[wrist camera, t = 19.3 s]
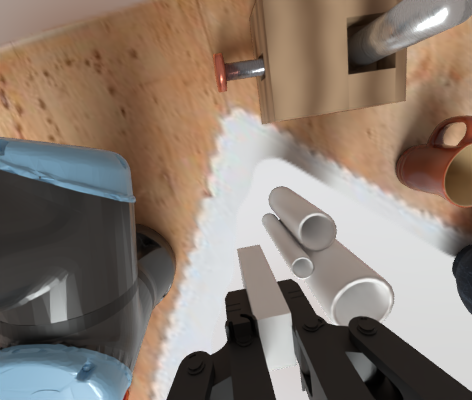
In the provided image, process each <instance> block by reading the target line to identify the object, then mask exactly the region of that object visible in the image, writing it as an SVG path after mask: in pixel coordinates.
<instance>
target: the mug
mask: <svg viewBox="0 0 472 400" xmlns="http://www.w3.org/2000/svg"><path fill="white" fill-rule="evenodd" d="M460 122H464V123H465V124H466V127H467V129H466V134H465V136H464V137H463V139H462V140H461V141H460V142H459V144H458V145H457V146H450V145H445V144H444V143H443V135H444V133H445V131H446V129H447V128H448V127H450V126H451V125H453V124H456V123H460ZM396 173H397V177H398V179H399V181H400V182H401V183H402V184H404V185H405V186H407V187H409V188H411V189H413V190H417V191H422V192H426V193H431V194H435V195H439V196H441V197H443V198H444V199H446V200H447V201H449V202H450V203H452V204H453V205H456V206H458V207H472V116H468V115H465V116H456V117H452V118H449V119H446V120H444V121H443V122H441V123H440V124H439V125H438V126H437V127H436V128H435V130H434V131H433V133H432V134H431V136H430V138H429V140H428V143H427V144H421V145H417V146H413V147H410V148H409V149H407V150H406V151H405V152H404V153H403V154H402V155H401V157H400V158H399V160H398V163H397V167H396Z"/></svg>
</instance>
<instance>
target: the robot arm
mask: <svg viewBox="0 0 472 400" xmlns="http://www.w3.org/2000/svg"><path fill="white" fill-rule="evenodd" d="M134 202H136V198H135V196H134V195H133V189H132V180H131V171H130V167H129V164H128V162H127V161H126V160H125V159H124V158H123V157H122V156H121V155H120V154H118V153H115V152H113V151H108V150H102V149H95V148H88V147H81V146H73V145H65V144H57V143H49V142H41V141H32V140H24V139H15V138H6V137H0V400H123V398H124V395H125V393H126V390H127V389H128V388H129V386H130V385H131V380H132V373H133V369H134V366H135V363H136V360H137V357H138V354H139V351H140V347H141V344H142V341H143V338H144V335H145V332H146V329H147V325H148V322H149V319H150V316H151V313H152V310H153V309H154V308H155V306H156V305H157V304H158V303H159V302H160V301H161V300H162V299H163V298H164V297H165V296H166V295H167V293H168V292H169V290H170V288H171V286H172V283H173V279H174V275H175V270H176V262H175V257H174V253H173V251H172V249H171V247H170V245H169V244H168V243H167V241H166V240H165V239H164V238H163V237H162V236H161V235H160V234H158V233H157V232H156V231H154V230H152V229H150V228H148V227H146V226H143V225H139V224H135V207H134ZM237 251H238V257H239V263H240V269H241V275H242V280H243V286H244V289H242V290H236V291H232V292H228V294H227V296H226V298H225V304H226V314H227V321H226V324H225V329H226V335H227V343H226V344H225V346H224V347H223V348H222V349H220V350H219V351H217V352H216V353H214V354H212V355H209V354H208V353H207V352H203V351H197V352H193V353H191V354H189V355H188V356H186V357H185V358H184V359H183V360H182V362H181V364H180V365H179V368H178V370H177V373H176V376H175V378H174V381H173V384H172V386H171V389H170V392H169V394H168V397H167V399H166V400H276V398H275V394H274V390H273V386H272V382H271V378H270V375H269V371H273V370H278V369H282V368H287V367H291V366H296V365H297V362H296V358H297V361H298V363H299V366H300V374H301V383H302V390H303V391H305V389H306V391H307V394H308V397H309V399H310V400H472V392H471V391H470V390H468V389H467V388H466V387H465V386H463V385H462V384H461V383H459V382H458V381H457V380H455V379H454V378H452V377H451V376H450V375H449V374H447V373H446V372H445V371H443V370H442V369H441V368H439V367H438V366H437V365H435V364H434V363H433V362H432V361H430V360H429V359H428V358H426V357H425V356H424V355H422V354H421V353H420V352H418V351H417V350H416V349H414V348H413V347H412V346H410V345H409V344H408V343H406V342H405V341H404V340H402V339H401V338H400V337H399V336H397V335H396V334H395V333H393V332H392V331H391V330H389V329H388V328H387V327H385V326H384V325H383V324H381V323H380V322H379V321H377V320H375V319H373V318H370V317H367V316H358V317H354V318H352V319H351V320H350V321H349V324H348V326H339V325H332V324H328V323H327V322H326V321H325V320H324V319H323V318H321V317H320V316H318V315H316V313H315V311H314V310H313V308H312V306H311V305H310V304H309V301H308V300H307V298H306V296H305V295H304V293H303V292H302V290H301V288H300V286H299V285H298V283H296V282H295V281H293V280H292V279H289V280H283V281H278V282H276V279H275V277H274V275H273V273H272V271H271V269H270V266H269V264H268V262H267V260H266V258H265V255H264V253H263V251H262V249H261V247H260V245H255V246H250V247H245V248H240V249H237Z"/></svg>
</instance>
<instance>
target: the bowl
mask: <svg viewBox="0 0 472 400" xmlns="http://www.w3.org/2000/svg"><path fill="white" fill-rule="evenodd" d="M452 271H453V274H454V276H455V278H456V283H457V289H458V293H459V296H460V298H461V300H462V302H463V303H464V305H465V307H466V308H467V309H468V311H469V312H470V313H471V314H472V245H469V246H467V247H466V248H464V249H463V250H462V251H461V252H460V253H459V254H458V255H457V256H456V258H455V260H454V262H453V267H452Z"/></svg>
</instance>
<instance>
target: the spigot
mask: <svg viewBox="0 0 472 400" xmlns="http://www.w3.org/2000/svg"><path fill="white" fill-rule="evenodd" d="M471 15H472V0H403V1H401V2H400V3H398V4H397V5H396V6H394V7H393V8H391V9H390V10H388V11H387V12H386V13H384V14H383V15H381V16H380V17H378V18H377V19H375V20H374V21H373V22H371V23H370V24H368V25H367V26H365V27H364V28H362V29H361V30H360V31H358V32H357V33H355V34H354V35H352V36H351V37H350V38H348V39H347V50H348V69H350V70H357V69H359V68H362V67H364V66H366V65H368V64H371V63H373V62H375V61H377V60H380V59H382V58H384V57H386V56H389V55H391V54H393V53H395V52H398V51H400V50H402V49H404V48H407V47H409V46H411V45H414V44H416V43H418V42H420V41H423V40H425V39H427V38H429V37H432V36H434V35H436V34H438V33H441V32H443V31H445V30H447V29H450V28H452V27H454V26H456V25H459V24H461V23H463V22H464V21H466V20H467V19H468V18H469V17H470V16H471Z"/></svg>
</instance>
